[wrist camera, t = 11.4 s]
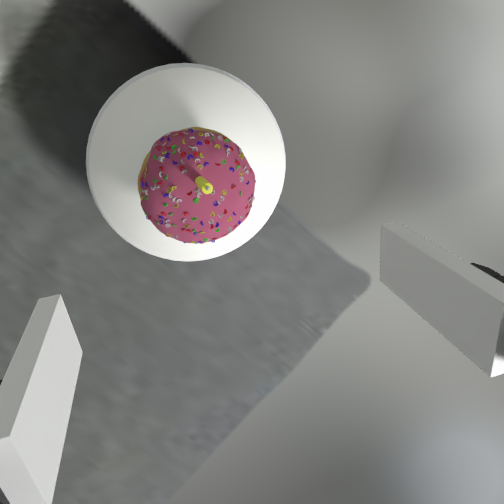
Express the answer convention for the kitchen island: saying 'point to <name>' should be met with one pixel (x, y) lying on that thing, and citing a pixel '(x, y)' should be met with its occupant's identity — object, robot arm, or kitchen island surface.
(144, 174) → the cupcake
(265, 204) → the cake stand
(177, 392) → the kitchen island surface
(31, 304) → the kitchen island surface
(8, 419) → the robot arm
